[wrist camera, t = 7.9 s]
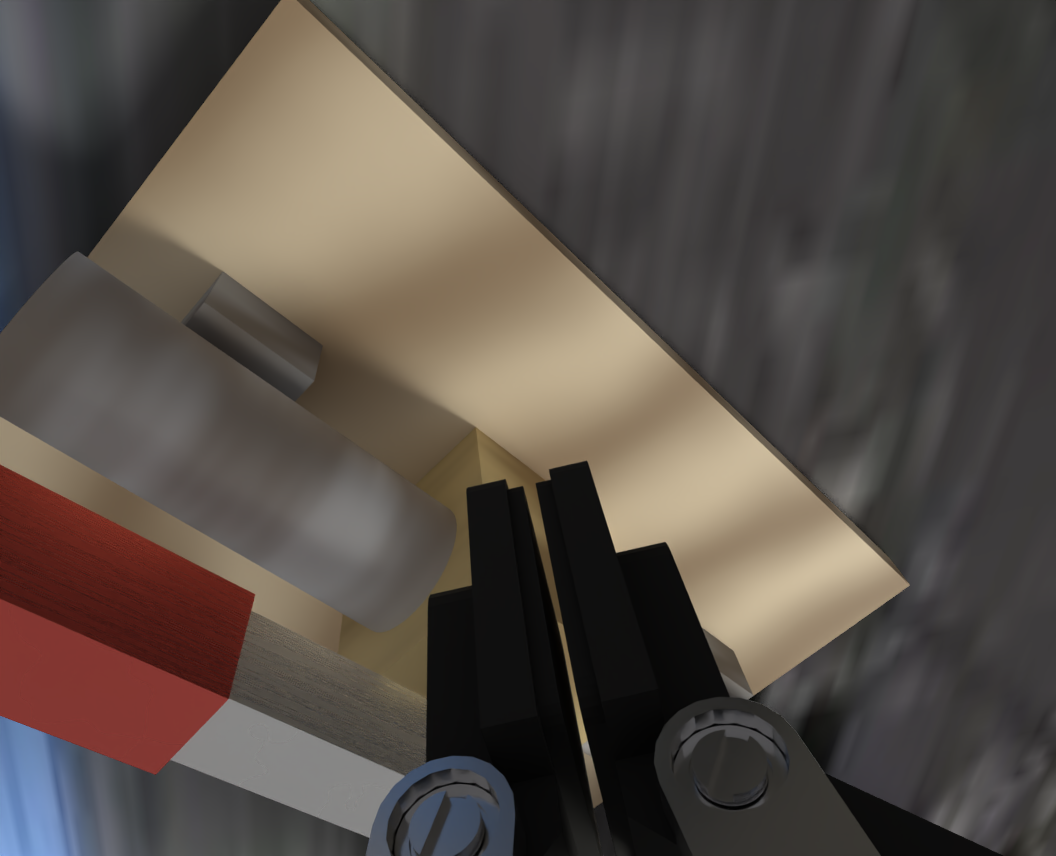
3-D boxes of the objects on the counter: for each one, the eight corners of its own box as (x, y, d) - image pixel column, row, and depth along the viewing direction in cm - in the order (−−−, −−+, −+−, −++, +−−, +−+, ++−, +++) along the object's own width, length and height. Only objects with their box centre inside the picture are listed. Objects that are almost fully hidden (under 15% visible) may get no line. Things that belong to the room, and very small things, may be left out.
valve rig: (888, 557, 29) (1067, 790, 21) (574, 785, 34) (621, 1046, 26) (296, -12, 18) (196, 23, 10) (-49, 445, 23) (-306, 718, 15)
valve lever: (-33, 436, 12) (-121, 532, 10) (585, 754, 18) (605, 857, 16) (-103, 542, 13) (-198, 650, 11) (508, 814, 19) (519, 920, 17)
